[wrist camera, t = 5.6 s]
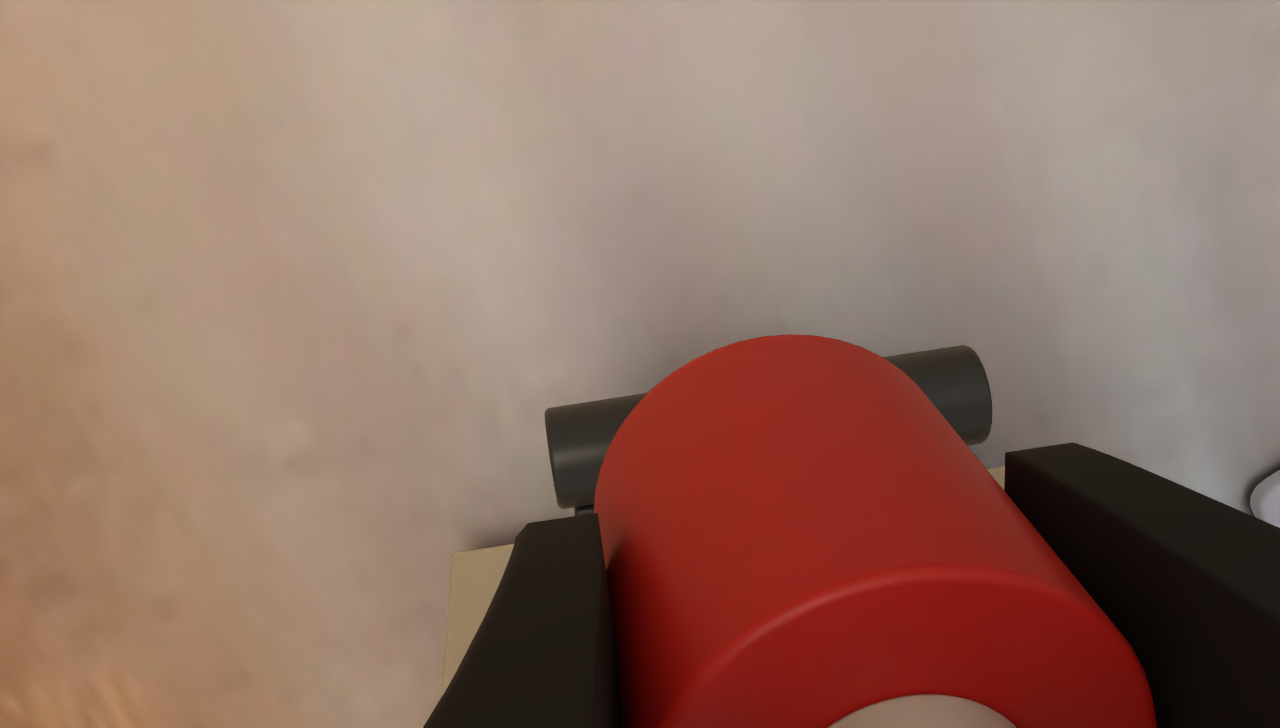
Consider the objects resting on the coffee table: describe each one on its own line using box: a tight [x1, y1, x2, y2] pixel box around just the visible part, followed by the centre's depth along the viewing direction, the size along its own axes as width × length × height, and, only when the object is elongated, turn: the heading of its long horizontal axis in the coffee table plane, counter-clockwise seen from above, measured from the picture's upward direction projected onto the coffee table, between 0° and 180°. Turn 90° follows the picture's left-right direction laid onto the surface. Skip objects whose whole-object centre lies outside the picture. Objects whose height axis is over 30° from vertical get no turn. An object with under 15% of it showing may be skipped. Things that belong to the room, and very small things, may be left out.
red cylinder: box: [594, 335, 1157, 728], centre depth 9 cm, size 4×4×5 cm
